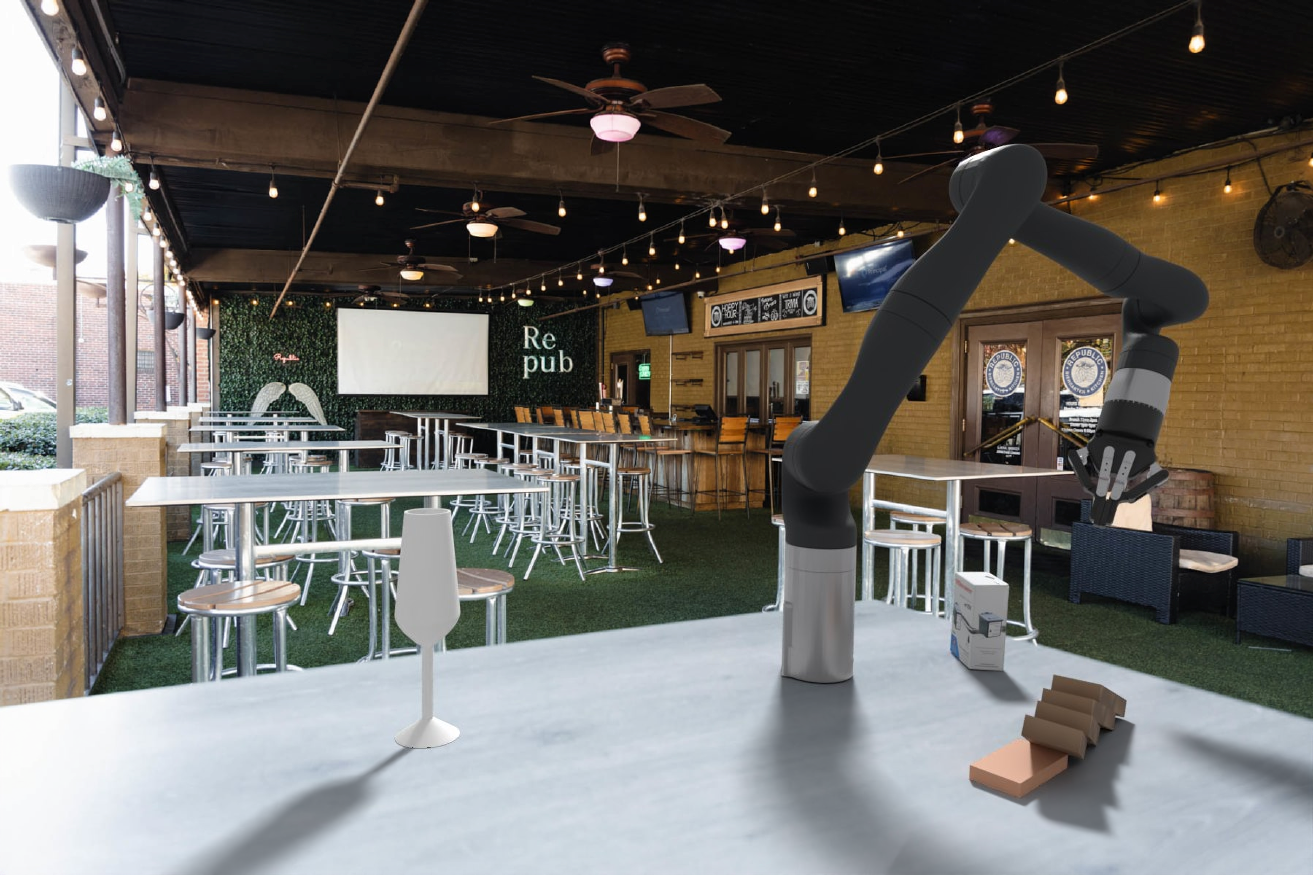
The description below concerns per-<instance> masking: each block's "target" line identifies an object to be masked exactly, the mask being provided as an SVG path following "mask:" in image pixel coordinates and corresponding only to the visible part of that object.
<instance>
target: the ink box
mask: <svg viewBox="0 0 1313 875" xmlns="http://www.w3.org/2000/svg"><path fill="white" fill-rule="evenodd" d="M1009 593H1010V586H1009V583H1007V582H1005V581H1004V580H1001V579H1000V578H999V577H997V576H995V575H994V574H992V573H991V572H988V571H954V580H953V598H952V599H953V600H952V616H951V630H950V632H951V634H950V652H951V653H953V655H954V656H955V657H957V659H958V660H960V662H962V663H963V665H965V667H966V668H968V669H969V670H981V671H982V670H983V671H1001V672H1002V671H1004V669H1005V668H1004V667H1005V653H1006V652H1005V651H1006V639H1007V637H1006V636H1007V634H1006V633H1007V623H1008V622H1007V621H1008V606H1009Z"/></svg>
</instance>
